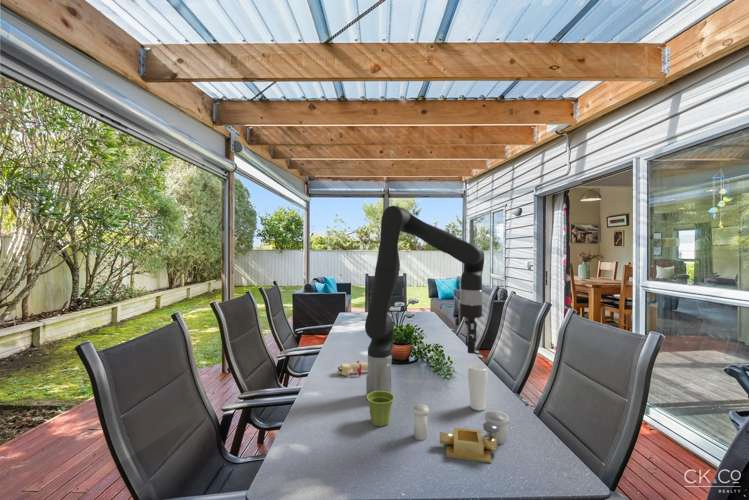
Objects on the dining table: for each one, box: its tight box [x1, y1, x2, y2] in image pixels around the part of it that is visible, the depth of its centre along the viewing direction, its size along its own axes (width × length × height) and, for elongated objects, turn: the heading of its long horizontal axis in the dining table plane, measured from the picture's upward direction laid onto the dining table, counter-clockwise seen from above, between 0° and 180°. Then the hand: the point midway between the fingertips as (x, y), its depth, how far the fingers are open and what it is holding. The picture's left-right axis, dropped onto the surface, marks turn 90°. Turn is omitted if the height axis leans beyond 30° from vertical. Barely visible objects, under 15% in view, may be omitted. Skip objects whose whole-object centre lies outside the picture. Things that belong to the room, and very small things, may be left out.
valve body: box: [439, 422, 499, 464], centre depth 99 cm, size 17×10×8 cm, turn 78°
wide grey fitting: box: [484, 410, 510, 445], centre depth 105 cm, size 7×7×7 cm
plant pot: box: [366, 391, 395, 427], centre depth 115 cm, size 9×9×9 cm
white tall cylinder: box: [467, 363, 488, 411], centre depth 125 cm, size 7×7×15 cm
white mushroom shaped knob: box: [412, 403, 430, 441], centre depth 106 cm, size 5×5×9 cm
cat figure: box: [336, 360, 368, 377], centre depth 160 cm, size 10×9×25 cm
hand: (469, 349), depth 117 cm, fingers open, 8 cm apart
